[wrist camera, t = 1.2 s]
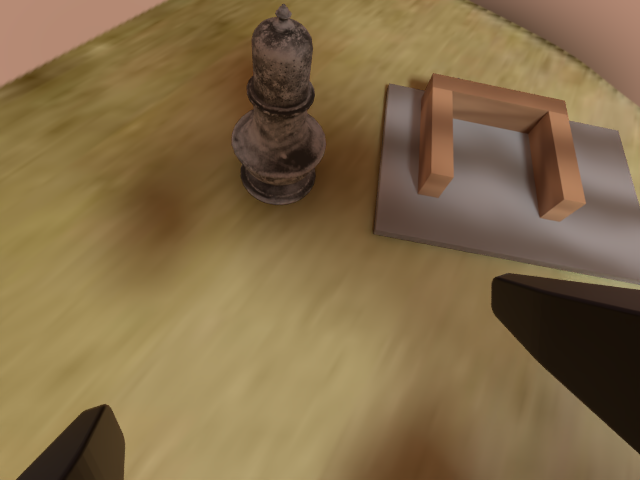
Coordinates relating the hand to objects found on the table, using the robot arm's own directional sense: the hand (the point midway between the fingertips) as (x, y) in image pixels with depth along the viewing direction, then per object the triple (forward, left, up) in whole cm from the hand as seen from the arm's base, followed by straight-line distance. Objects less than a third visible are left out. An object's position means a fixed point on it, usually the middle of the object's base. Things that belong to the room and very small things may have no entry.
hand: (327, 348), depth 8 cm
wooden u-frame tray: (-4, -22, -13) cm, 26 cm away
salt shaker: (+10, -11, -14) cm, 20 cm away
